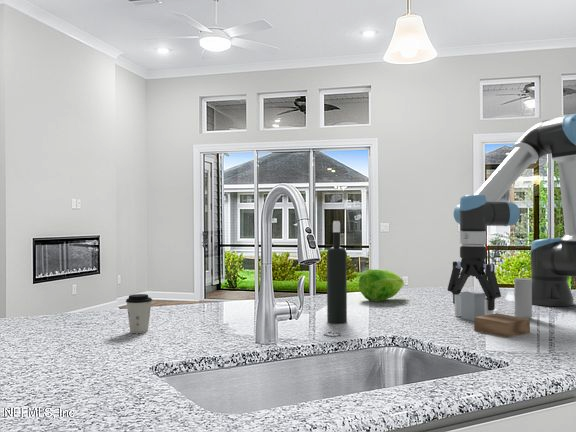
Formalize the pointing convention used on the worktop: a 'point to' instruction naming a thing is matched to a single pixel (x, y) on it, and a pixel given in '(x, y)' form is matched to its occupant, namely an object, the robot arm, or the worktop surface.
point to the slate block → (472, 304)
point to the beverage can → (523, 297)
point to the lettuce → (379, 284)
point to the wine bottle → (336, 280)
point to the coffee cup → (138, 312)
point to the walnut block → (502, 325)
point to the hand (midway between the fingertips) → (473, 318)
